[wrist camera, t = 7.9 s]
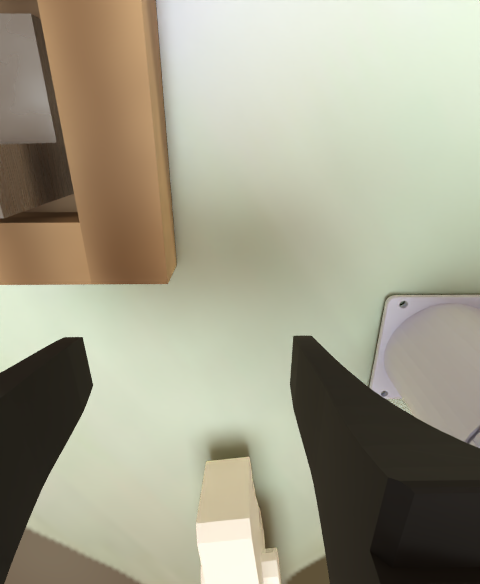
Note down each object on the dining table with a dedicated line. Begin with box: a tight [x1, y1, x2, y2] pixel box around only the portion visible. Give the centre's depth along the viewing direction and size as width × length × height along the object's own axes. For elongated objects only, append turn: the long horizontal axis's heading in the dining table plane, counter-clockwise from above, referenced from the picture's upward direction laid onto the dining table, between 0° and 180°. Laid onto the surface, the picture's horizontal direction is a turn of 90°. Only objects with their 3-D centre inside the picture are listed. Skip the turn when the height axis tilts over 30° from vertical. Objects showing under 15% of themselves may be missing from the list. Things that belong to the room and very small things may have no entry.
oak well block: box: [0, 0, 177, 285], centre depth 16 cm, size 14×16×3 cm
